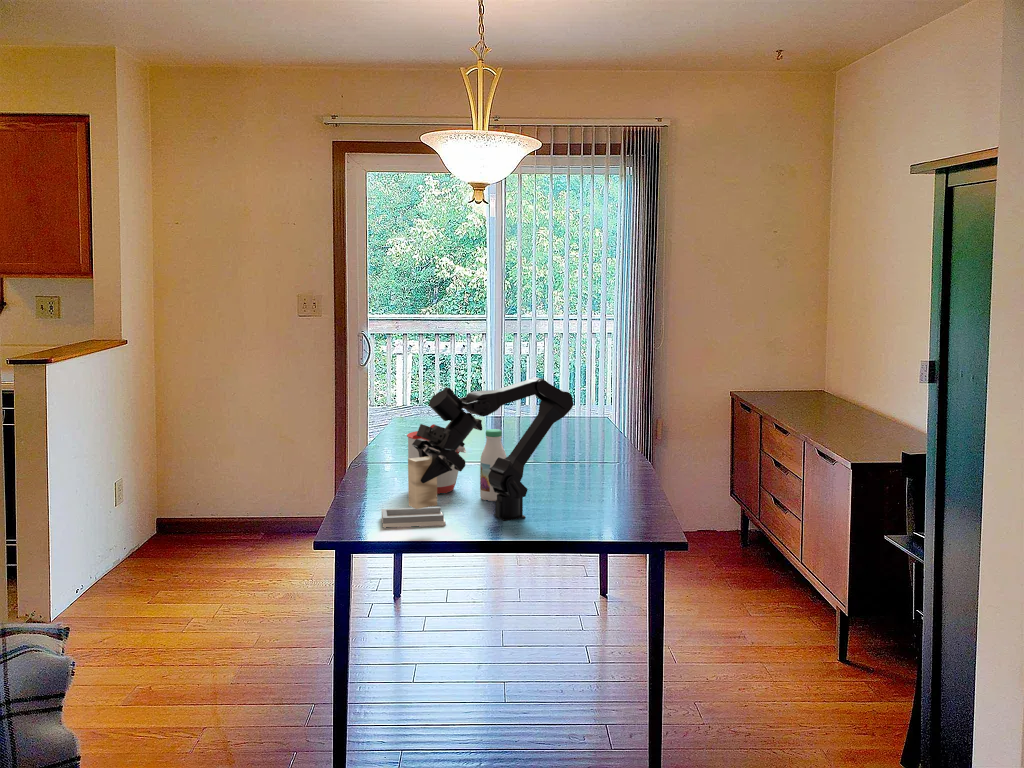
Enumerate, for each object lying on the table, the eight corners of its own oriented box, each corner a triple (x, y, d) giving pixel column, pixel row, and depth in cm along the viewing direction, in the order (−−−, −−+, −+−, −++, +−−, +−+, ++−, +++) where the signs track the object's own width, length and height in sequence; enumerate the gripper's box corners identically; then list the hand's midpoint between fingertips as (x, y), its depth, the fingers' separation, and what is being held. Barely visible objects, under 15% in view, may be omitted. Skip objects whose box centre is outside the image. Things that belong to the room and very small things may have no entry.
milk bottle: (506, 495, 277) (506, 427, 275) (507, 501, 270) (507, 432, 267) (480, 495, 277) (480, 427, 274) (480, 501, 269) (480, 432, 267)
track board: (441, 515, 255) (441, 506, 255) (445, 525, 245) (445, 515, 245) (381, 517, 252) (381, 508, 252) (383, 528, 243) (383, 518, 242)
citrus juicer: (464, 497, 274) (464, 429, 272) (404, 496, 275) (403, 428, 272) (467, 484, 290) (467, 420, 287) (411, 484, 290) (410, 419, 288)
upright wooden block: (429, 502, 242) (429, 455, 240) (437, 505, 238) (436, 458, 237) (408, 505, 238) (407, 458, 237) (416, 509, 235) (415, 461, 233)
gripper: (418, 407, 245) (380, 454, 241) (454, 417, 230) (414, 467, 225) (445, 434, 250) (408, 480, 246) (482, 446, 235) (443, 495, 230)
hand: (417, 480), depth 237 cm, fingers closed on upright wooden block, 4 cm apart
